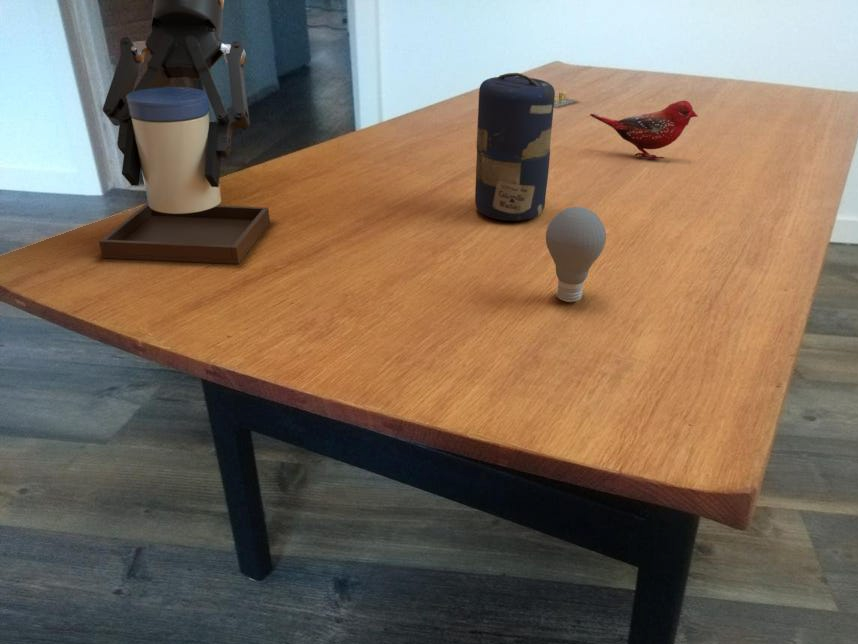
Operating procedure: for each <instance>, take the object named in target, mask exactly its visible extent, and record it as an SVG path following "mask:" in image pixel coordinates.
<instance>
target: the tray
mask: <svg viewBox="0 0 858 644" xmlns="http://www.w3.org/2000/svg"><path fill="white" fill-rule="evenodd" d="M270 223H271V220H270V210H269V207H266V206H265V207H262V206H242V205H241V206H240V205H220V204H218V205H217V206H215V207H213V208H211V209H208V210H204V211H200V212H195V213H186V214H169V213H162V212H157V211H155V210H152V209H151V208H150V207H149V205H148V201H147V202H145V203H144V204H143V205H142V206H141V207H139V208H138V209H137V210H136V211H134V213H132V214H131V215H130V216H128V217H127V218H126V219H125V220H124V221H122V222H121V223H119V224H118V225H117V226H116V227H115V228H113V229H112V230H111V231H109V232H108V233H107V234H106V235H105V236H103V237H102V238H101V239H100V240H98V243H99V248H100V252H101V256H102V258H103V259H113V260H114V259H116V260H139V261H163V262H186V263H204V264H205V263H207V264H227V265H228V264H229V265H240V263H241V261H242V260H243V259H244V258H245V256H246V255H247V253H248V252H249V251H250V250H251V249H252V247H253V246H254V244H255V243H256V242H257V240H258V239H259V238H260V237H261V236H262V234H263V233H264V231H266V228H267V227H268V225H270Z"/></svg>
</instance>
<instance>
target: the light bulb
mask: <svg viewBox="0 0 858 644" xmlns="http://www.w3.org/2000/svg"><path fill="white" fill-rule="evenodd" d="M606 241H607V231H606V228H605V225H604V223H603V221H602V220H601V217H599V216H598V214H596V213H595V212H594V211H593V210H590V209H588V208H587V207H582V206H571V207H567V208H564V209H562V210H561V211H559V212H558V213H557V214H556V215H555V216H554V217H553V218H552V219H551V221H550V222H549V224H548V226H547V228H546V231H545V244H546V247H547V250H548V252H549V254H550V257H551V258H552V260H553V263H554V265H555V274H556V278H557V279H558V281H557V285H558V286H557V292H556V297H557V298H558V299H559V300H561V301H563V302H566V303H574V302H578V301H580V300H581V299H582V296H583V289H584V282H585V280H586V279H587V278H588V276H589V272H590V269H591V267H592V266H593V265H594V264H595V262H596V261H597V259H598V258H599V257H600V256H601V254H602V252H603V251H604V248H605V245H606V243H607V242H606Z"/></svg>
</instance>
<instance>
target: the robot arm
mask: <svg viewBox="0 0 858 644" xmlns="http://www.w3.org/2000/svg"><path fill="white" fill-rule="evenodd" d="M224 5H225V0H153V6H152V14H151V29H150V32H149V33H148V35H147V36H146V38H145V40H137V41H132V40H131V39H130V37H127V36H123V37H122V38H120V39H119V50H120V57H119V59H118V61H117V65H116V67H115V71H114V73H113V77H112V80H111V83H110V85H109V88H108V92H107V95H106V98H105V100H104V104H103V106H102V112H103V114H104V115H105V116H106V118H107V119H108V121H110V123H111V124H112V126H115V127H118V135H117V141H116V145H117V148H118V149H119V151H120V152H121V154H122V155H123V160H122V167H121V168H122V169H121V175H122V176H123V177H124V178H125V180H126V181H127V182H128V183H129V184H130V185H131V186H139V184H140V176H141V165H140V160H139V155H138V150H137V145H136V140H135V135H134V130H133V125H132V120H131V115H130V114H129V109H128V104H127V99H126V95H127V94H129V93H131V92H134V91H138V90H143V89H149V88H160V87H169V85H170V83H171V82H172V80H173V79H179V78H185V77H186V78H189V79H196V80H197V79H200V81H201V83H202V86H203V88H204V91H205V92H206V93H207V96H208V102H209V103H210V105H211V108H212V111H213V113H214V115H215V118H216V120H217V121H210V122H209V132H208V143H207V154H206V165H205V177H206V179H207V180H208V182H209V183H210V185H211V187H219V184H220V175H221V163H222V158H229V157H230V155H231V150H232V149H231V148H232V137H233V133H234V131H236V130H238V129H242V130H248V129H249V128H250V125H251V122H250V121H251V120H250V114H249V106H248V97H247V89H246V88H247V87H246V80H245V73H244V72H245V69H246V66H247V62H248V57H247V56H248V55H247V54H246V50H245V48H244V46H243V44H242V42H241V41H240V40H235V41H232V43H231V44H229V43H224V42H222V41H221V40H222V29H223V17H224V12H223V10H224ZM147 54H150V55H151V58H150V59H149V60H148V63H147V68H146V71H145V72H144V73H143V75H142V77H141V78H140V80H139V82H138V83H137V80H138V76H139V73H140V67H141V64H144V62H145V61H144V60H145V56H146V55H147ZM222 57H223V58H224V60H225V62H226V64H227V69H228V77H229V85H230V94H231V102H232V110H233V111H232V112H230V113H228V110H227V109H226V106H225V104H224V101H223V99H222V96H221V94H220V92H219V89H218V87H217V84H216V82H215V79H214V77H213V74H212V72H211V70H210V69H211V68H212V67H213V66H214V65H215V64H216V63H217V62H218V61H219V60H220V59H221V58H222ZM136 83H137V85H136Z"/></svg>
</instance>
